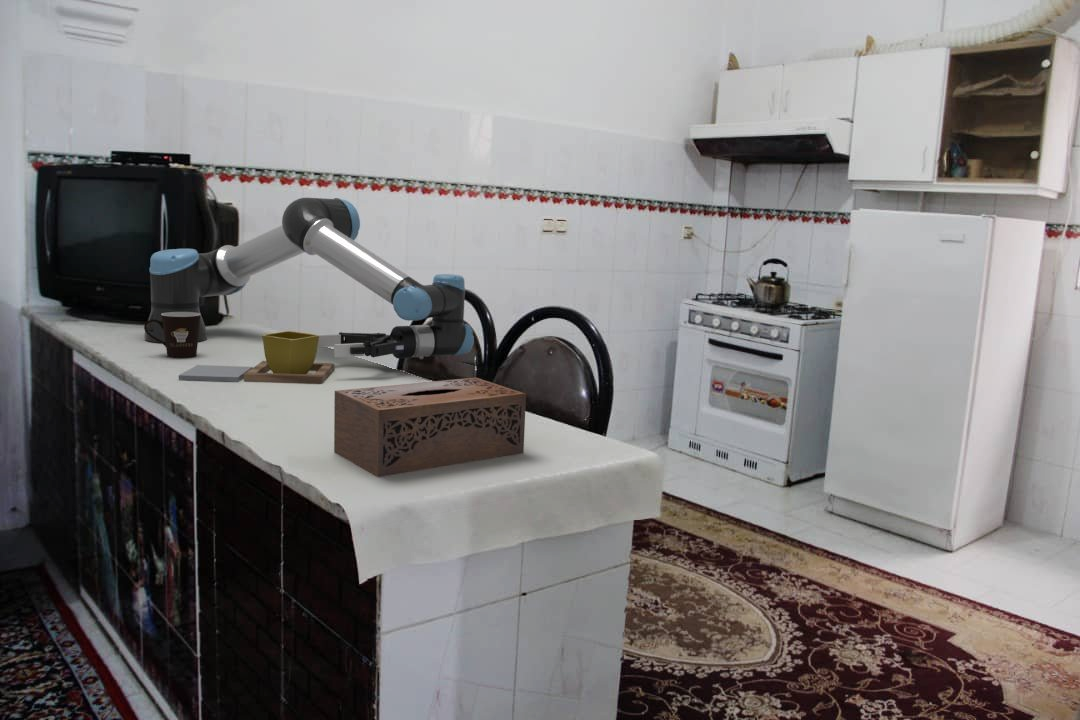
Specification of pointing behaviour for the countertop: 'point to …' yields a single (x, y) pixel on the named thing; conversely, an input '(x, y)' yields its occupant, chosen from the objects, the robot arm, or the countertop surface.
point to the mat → (215, 373)
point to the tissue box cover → (427, 424)
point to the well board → (260, 374)
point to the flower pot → (290, 351)
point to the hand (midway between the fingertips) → (323, 346)
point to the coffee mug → (179, 333)
